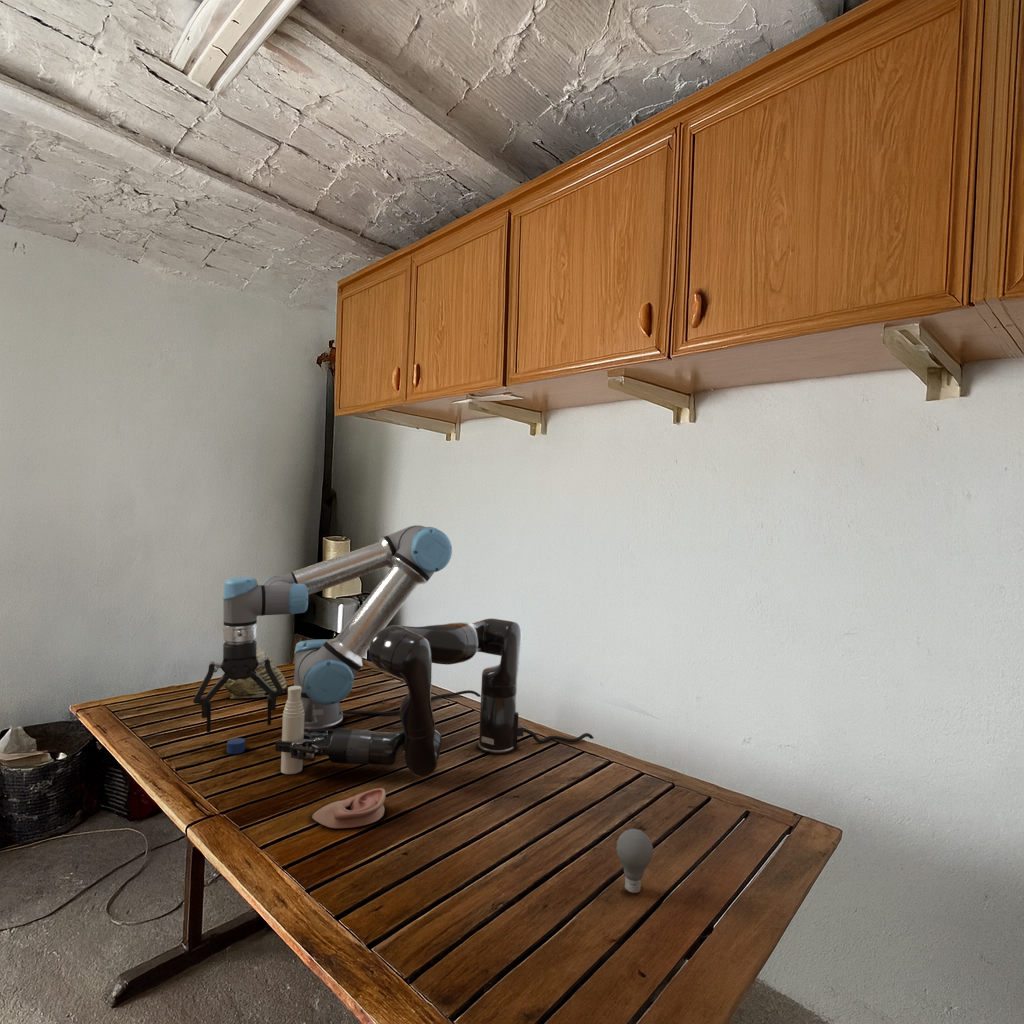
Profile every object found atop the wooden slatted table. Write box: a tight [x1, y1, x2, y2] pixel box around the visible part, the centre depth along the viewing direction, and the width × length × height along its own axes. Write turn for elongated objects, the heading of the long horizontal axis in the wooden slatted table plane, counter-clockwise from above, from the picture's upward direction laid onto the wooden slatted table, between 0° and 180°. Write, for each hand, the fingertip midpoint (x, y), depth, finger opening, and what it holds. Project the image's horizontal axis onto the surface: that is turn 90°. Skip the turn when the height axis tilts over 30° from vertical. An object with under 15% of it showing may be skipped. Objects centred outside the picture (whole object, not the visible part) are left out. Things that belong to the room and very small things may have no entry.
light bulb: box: [615, 828, 654, 894], centre depth 106 cm, size 6×6×10 cm
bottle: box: [280, 685, 305, 775], centre depth 146 cm, size 5×5×19 cm
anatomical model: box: [311, 787, 387, 829], centre depth 126 cm, size 13×4×12 cm
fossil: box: [223, 647, 288, 699], centre depth 198 cm, size 9×18×15 cm, turn 132°
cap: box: [226, 737, 246, 755], centre depth 155 cm, size 4×4×2 cm
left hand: (239, 727), depth 155 cm, fingers open, 13 cm apart
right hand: (281, 741), depth 146 cm, fingers closed on bottle, 5 cm apart
